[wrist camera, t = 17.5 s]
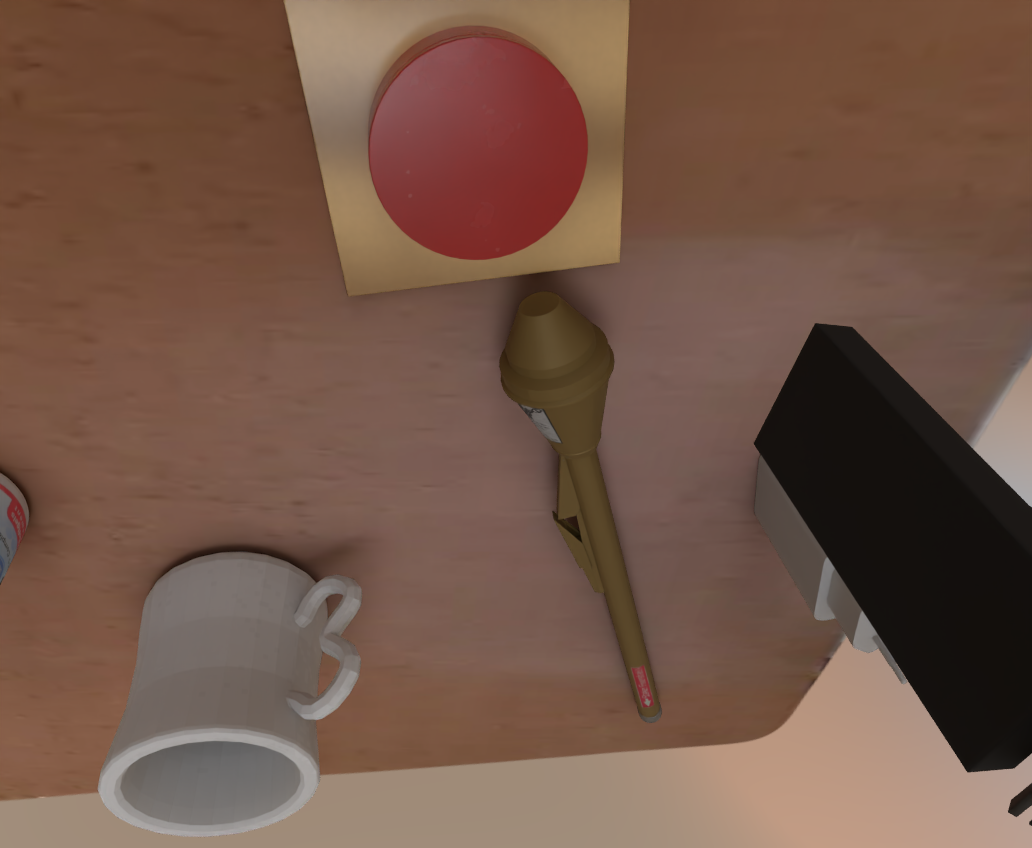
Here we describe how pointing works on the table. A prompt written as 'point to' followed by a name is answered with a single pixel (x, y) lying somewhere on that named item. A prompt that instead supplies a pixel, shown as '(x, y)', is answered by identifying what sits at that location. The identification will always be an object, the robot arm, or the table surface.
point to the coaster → (351, 90)
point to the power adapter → (812, 566)
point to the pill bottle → (11, 522)
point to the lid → (476, 143)
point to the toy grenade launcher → (578, 455)
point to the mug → (228, 696)
